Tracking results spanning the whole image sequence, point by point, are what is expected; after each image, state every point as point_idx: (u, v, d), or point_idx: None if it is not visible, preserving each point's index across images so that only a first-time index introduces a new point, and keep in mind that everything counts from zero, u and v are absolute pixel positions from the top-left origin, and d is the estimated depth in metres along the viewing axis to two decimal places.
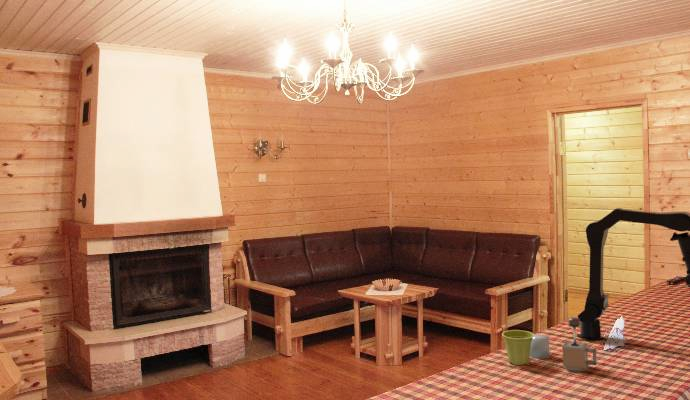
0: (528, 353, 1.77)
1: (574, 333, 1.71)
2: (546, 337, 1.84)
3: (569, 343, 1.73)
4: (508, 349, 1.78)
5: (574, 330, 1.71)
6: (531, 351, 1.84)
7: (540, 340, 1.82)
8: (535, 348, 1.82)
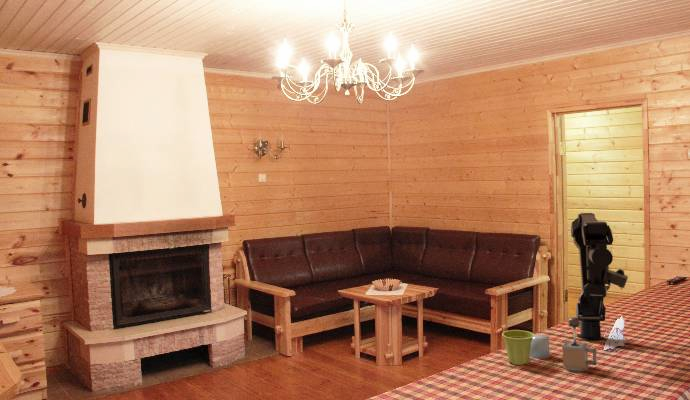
0: (528, 353, 1.77)
1: (574, 333, 1.71)
2: (546, 337, 1.84)
3: (569, 343, 1.73)
4: (508, 349, 1.78)
5: (574, 330, 1.71)
6: (531, 351, 1.84)
7: (540, 340, 1.82)
8: (535, 348, 1.82)
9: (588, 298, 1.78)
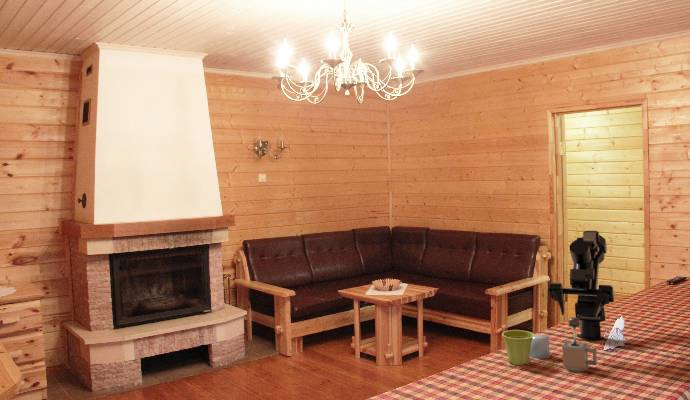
0: (528, 353, 1.77)
1: (574, 333, 1.71)
2: (546, 337, 1.84)
3: (569, 343, 1.73)
4: (508, 349, 1.78)
5: (574, 330, 1.71)
6: (531, 351, 1.84)
7: (540, 340, 1.82)
8: (536, 348, 1.82)
9: (558, 302, 1.86)
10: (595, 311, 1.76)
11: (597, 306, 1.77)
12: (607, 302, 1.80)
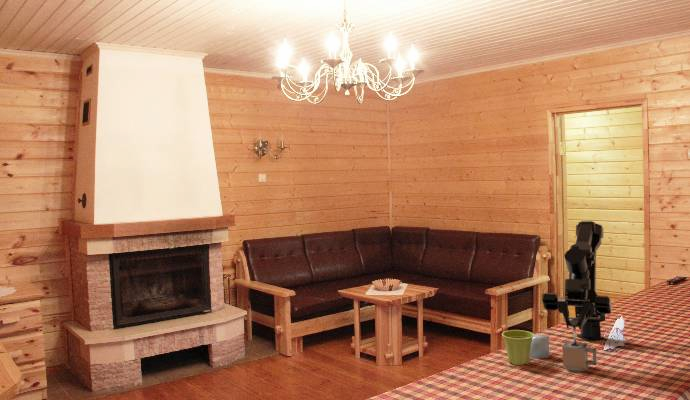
0: (528, 353, 1.77)
1: (574, 333, 1.71)
2: (546, 337, 1.84)
3: (569, 343, 1.73)
4: (508, 349, 1.78)
5: (574, 330, 1.71)
6: (531, 351, 1.84)
7: (540, 339, 1.82)
8: (536, 348, 1.82)
9: (563, 314, 1.77)
10: (580, 322, 1.70)
11: (582, 317, 1.70)
12: (593, 313, 1.73)
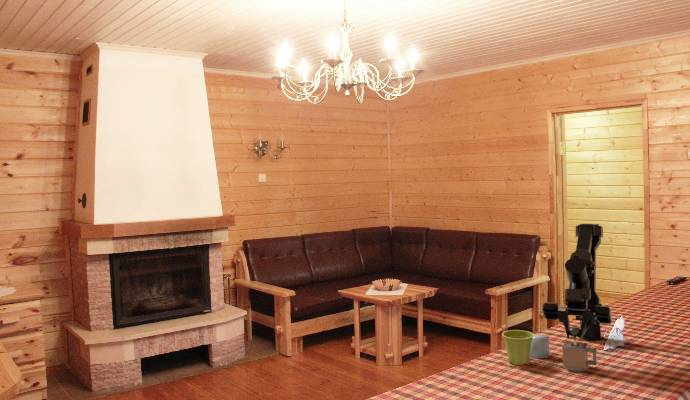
0: (528, 353, 1.77)
1: (574, 343, 1.71)
2: (546, 336, 1.84)
3: (569, 343, 1.73)
4: (508, 349, 1.78)
5: (574, 340, 1.71)
6: (531, 351, 1.84)
7: (541, 339, 1.82)
8: (536, 348, 1.82)
9: (563, 323, 1.77)
10: (580, 332, 1.70)
11: (583, 327, 1.70)
12: (593, 323, 1.73)
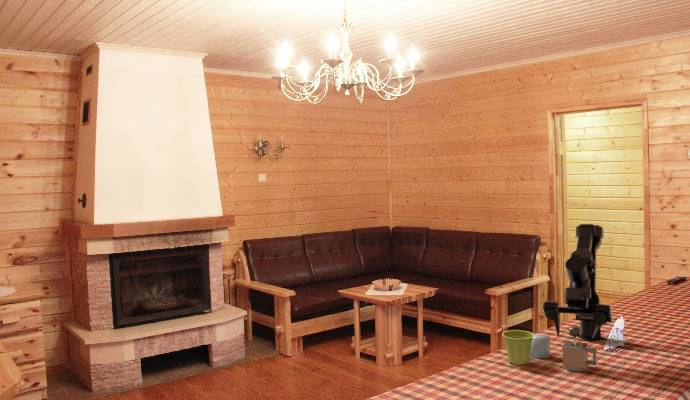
0: (528, 353, 1.77)
1: (574, 342, 1.71)
2: (547, 337, 1.84)
3: (569, 343, 1.73)
4: (508, 349, 1.78)
5: (574, 339, 1.71)
6: (532, 351, 1.83)
7: (542, 340, 1.82)
8: (538, 348, 1.82)
9: (554, 321, 1.79)
10: (592, 332, 1.69)
11: (594, 326, 1.70)
12: (604, 322, 1.73)
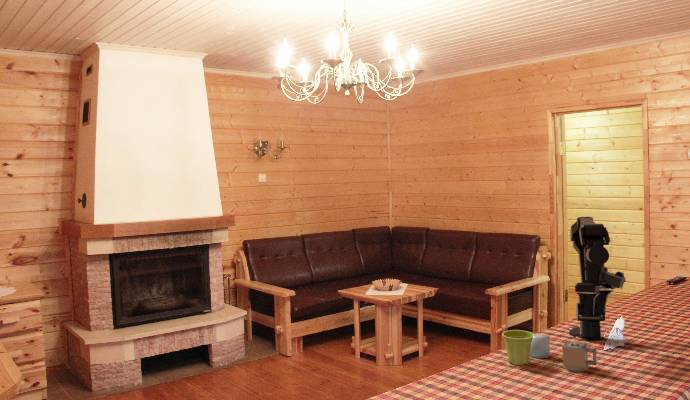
0: (528, 353, 1.77)
1: (574, 342, 1.71)
2: (547, 336, 1.84)
3: (569, 343, 1.73)
4: (508, 349, 1.78)
5: (574, 339, 1.71)
6: (533, 351, 1.83)
7: (543, 339, 1.82)
8: (539, 348, 1.82)
9: (581, 297, 1.81)
10: (604, 308, 1.87)
11: (605, 303, 1.87)
12: None
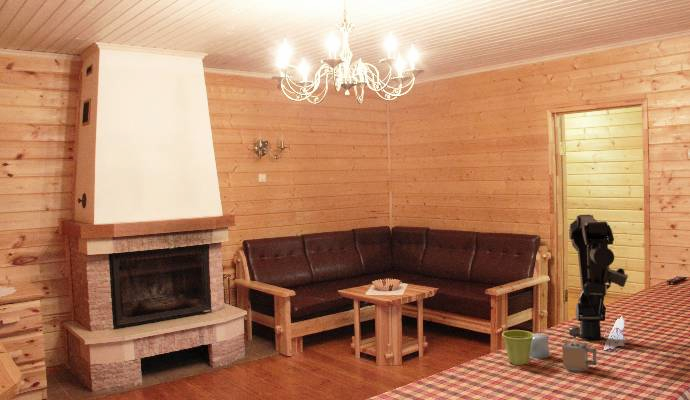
0: (528, 353, 1.77)
1: (574, 342, 1.71)
2: (545, 335, 1.84)
3: (569, 343, 1.73)
4: (508, 349, 1.78)
5: (574, 339, 1.71)
6: (534, 352, 1.83)
7: (543, 339, 1.82)
8: (539, 349, 1.82)
9: (588, 297, 1.80)
10: (603, 303, 1.89)
11: None
12: None
